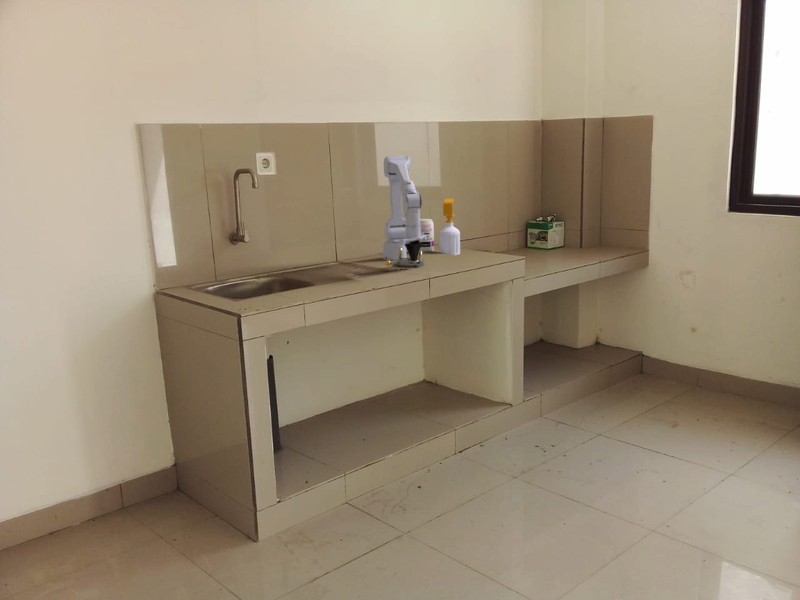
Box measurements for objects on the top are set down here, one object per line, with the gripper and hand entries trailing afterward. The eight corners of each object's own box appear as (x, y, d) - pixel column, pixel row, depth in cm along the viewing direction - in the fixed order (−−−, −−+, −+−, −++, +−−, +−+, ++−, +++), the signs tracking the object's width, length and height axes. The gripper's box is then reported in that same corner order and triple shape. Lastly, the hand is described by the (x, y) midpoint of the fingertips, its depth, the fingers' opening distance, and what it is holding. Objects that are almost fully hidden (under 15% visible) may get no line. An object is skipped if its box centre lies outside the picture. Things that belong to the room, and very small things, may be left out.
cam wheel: (375, 265, 271) (374, 250, 270) (410, 260, 280) (410, 246, 279) (397, 271, 259) (396, 255, 257) (433, 265, 268) (432, 250, 266)
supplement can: (425, 250, 314) (424, 218, 311) (437, 252, 308) (437, 219, 304) (412, 252, 309) (411, 219, 306) (424, 254, 303) (423, 221, 299)
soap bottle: (461, 253, 303) (461, 197, 298) (457, 256, 295) (457, 199, 289) (442, 253, 306) (441, 198, 300) (437, 256, 297) (436, 199, 291)
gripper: (409, 228, 251) (410, 264, 254) (432, 223, 261) (433, 258, 265) (394, 227, 255) (395, 263, 258) (418, 223, 266) (418, 257, 269)
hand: (413, 260), depth 262 cm, fingers closed
